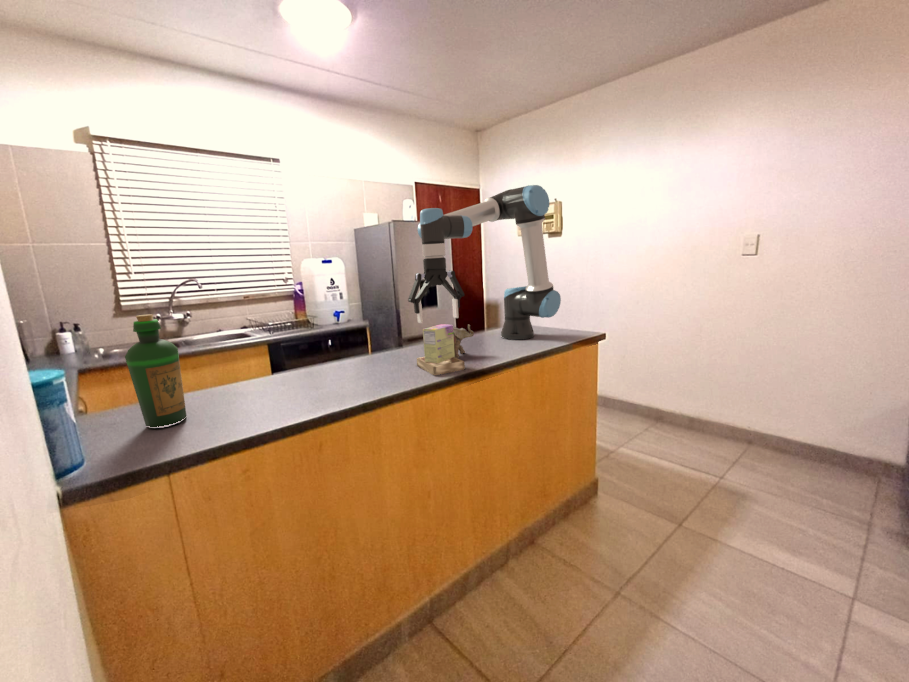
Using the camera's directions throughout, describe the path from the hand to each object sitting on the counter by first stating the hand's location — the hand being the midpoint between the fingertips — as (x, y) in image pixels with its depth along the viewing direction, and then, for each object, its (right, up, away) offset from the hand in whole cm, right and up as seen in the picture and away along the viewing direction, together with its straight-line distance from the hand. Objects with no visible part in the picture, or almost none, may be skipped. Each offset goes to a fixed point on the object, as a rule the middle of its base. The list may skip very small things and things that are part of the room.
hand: (438, 320), depth 137 cm
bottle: (-68, -28, -35) cm, 82 cm away
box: (0, -14, +3) cm, 14 cm away
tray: (+1, -17, +3) cm, 17 cm away
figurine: (+5, -13, +19) cm, 24 cm away
